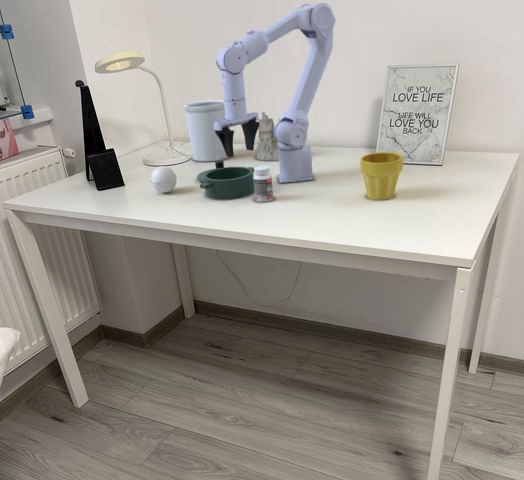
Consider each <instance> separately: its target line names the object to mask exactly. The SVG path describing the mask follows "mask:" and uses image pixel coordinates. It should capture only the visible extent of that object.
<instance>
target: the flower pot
mask: <svg viewBox="0 0 524 480" xmlns="http://www.w3.org/2000/svg"><path fill="white" fill-rule="evenodd" d="M359 163H360V165H359V167H360V168H359V169H360V173H361V174H362V176H363V181H364V184H365V191H366V196H367V198H368V199H370V200H373V201H384V200H389V199H392V198H393V197H394V195H395V192H396V189H397V185H398V181H399V178H400V177H399V176H400V174H401V173H402V171H403V168H404V156H403V154H400V153H398V152H393V151H380V152H379V151H378V152H372V153H368V154H365V155H363V156H361V158H360V161H359Z"/></svg>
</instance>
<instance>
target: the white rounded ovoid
mask: <svg viewBox="0 0 524 480" xmlns="http://www.w3.org/2000/svg"><path fill="white" fill-rule="evenodd" d="M177 181H178V180H177V174H176V173H175V172H174V170H173V169H172V168H171V167H169V166H165V165H162V166H158V167H156V168H154V170H153V171H152V173H151V176H150V183H151V185H152V187H153V188H154V189H155V190H156V191H157V192H159V193H161V194H167V193H170V192H172V191H173V190H174V189H175V188H176V185H177Z"/></svg>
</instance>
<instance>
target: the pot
mask: <svg viewBox="0 0 524 480" xmlns="http://www.w3.org/2000/svg"><path fill="white" fill-rule="evenodd" d="M254 168H255V167H251V166H249V167H246V166H226V167H225V166H224V168H219V169H216V168H213V169H214V170H211V169H210V170H211V171H209V172H207V173H205V174H204V175H203V177H204V182H203V183H199V188H200V189H203V190H204V191H205V196H206V197H207V198H208V199H212V200H219V201H220V200H221V201H226V200H236V199H241V198H245V197H248V196H250V195H252V194H253V193H255V188H254V175H255V173H254Z"/></svg>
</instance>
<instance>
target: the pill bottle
mask: <svg viewBox="0 0 524 480" xmlns="http://www.w3.org/2000/svg"><path fill="white" fill-rule="evenodd" d="M253 168H254V172H253V174H254V188H255V190H254V198H255V199H254V200H255V201H256V202H259V203H266V202H271V201H272V200H273V199H274V191H273V176H272V174H271V168H270V166H269V165H258V166H255V167H253Z"/></svg>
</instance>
